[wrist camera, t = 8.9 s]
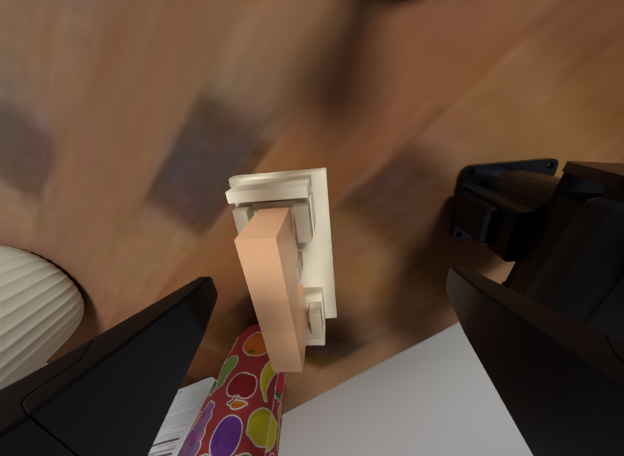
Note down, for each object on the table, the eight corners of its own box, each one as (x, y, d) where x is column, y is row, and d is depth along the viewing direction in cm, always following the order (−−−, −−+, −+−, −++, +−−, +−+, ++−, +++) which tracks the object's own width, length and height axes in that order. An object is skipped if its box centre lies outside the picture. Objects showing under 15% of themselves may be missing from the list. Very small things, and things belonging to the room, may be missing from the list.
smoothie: (267, 366, 31) (181, 708, 13) (220, 334, 29) (35, 695, 11) (310, 342, 28) (277, 738, 10) (261, 304, 26) (104, 730, 8)
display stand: (325, 167, 18) (324, 181, 14) (336, 309, 25) (337, 346, 21) (234, 175, 19) (207, 190, 15) (268, 310, 26) (257, 346, 22)
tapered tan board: (290, 206, 17) (275, 237, 12) (308, 320, 22) (302, 372, 17) (259, 208, 17) (234, 240, 12) (284, 320, 22) (273, 371, 18)
